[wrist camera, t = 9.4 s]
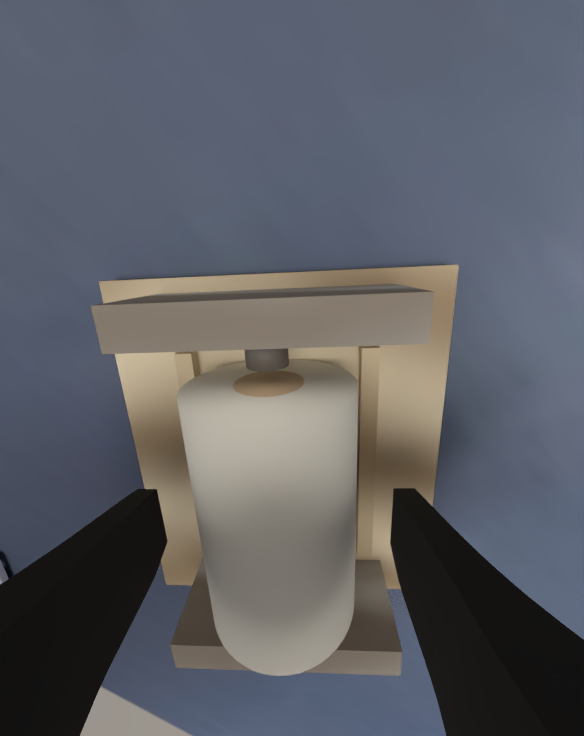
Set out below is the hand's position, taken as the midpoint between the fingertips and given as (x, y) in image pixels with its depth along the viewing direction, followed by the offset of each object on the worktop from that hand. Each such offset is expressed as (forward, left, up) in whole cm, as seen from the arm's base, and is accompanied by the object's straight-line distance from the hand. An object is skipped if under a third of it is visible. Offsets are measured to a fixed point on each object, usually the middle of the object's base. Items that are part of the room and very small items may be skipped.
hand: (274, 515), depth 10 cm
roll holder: (0, 0, -4) cm, 4 cm away
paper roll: (0, 0, -3) cm, 3 cm away
